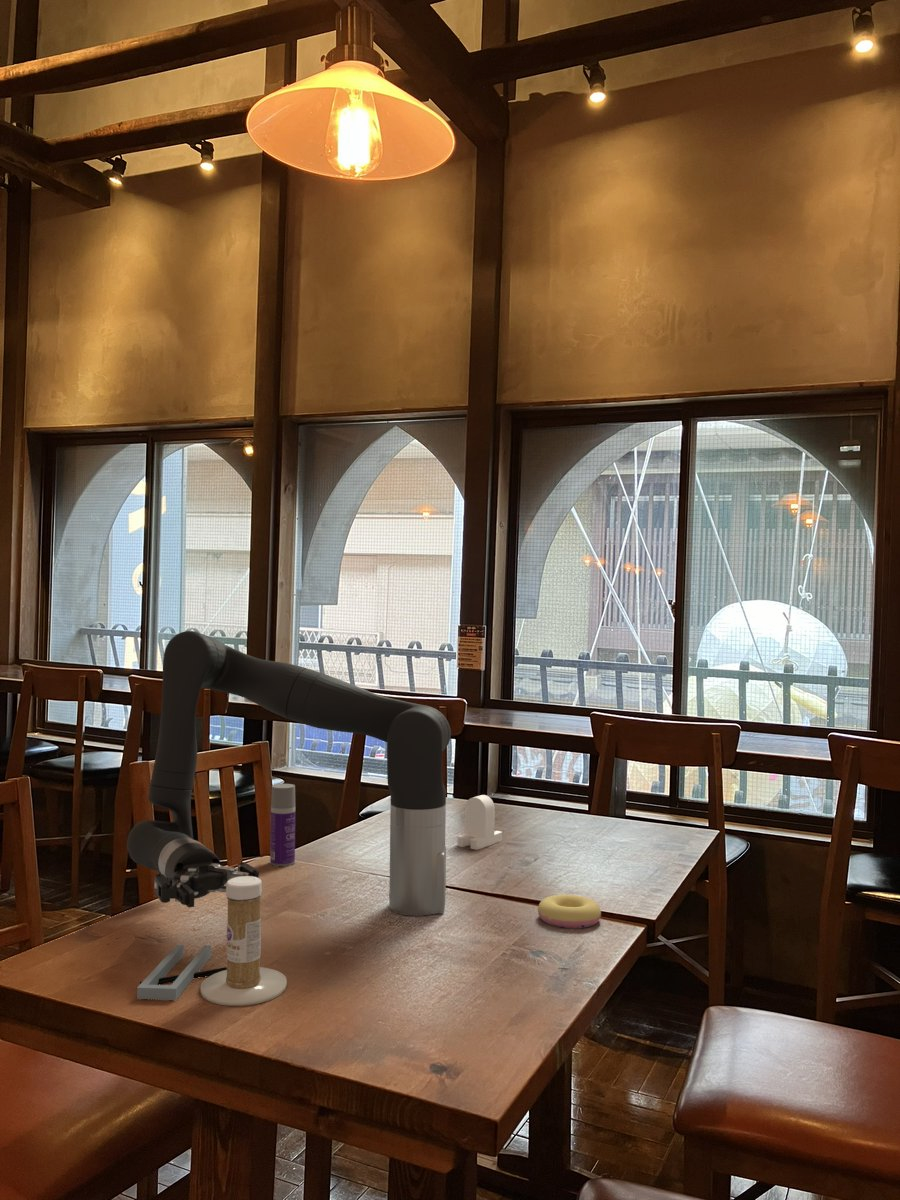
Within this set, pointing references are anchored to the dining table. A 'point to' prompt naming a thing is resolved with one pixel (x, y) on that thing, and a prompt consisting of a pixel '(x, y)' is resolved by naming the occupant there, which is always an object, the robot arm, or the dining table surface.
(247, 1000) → the coaster
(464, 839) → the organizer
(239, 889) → the sprinkles bottle
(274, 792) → the container
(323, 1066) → the dining table surface
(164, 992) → the grey u-shaped piece
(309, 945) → the dining table surface
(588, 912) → the donut
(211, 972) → the black marker pen
